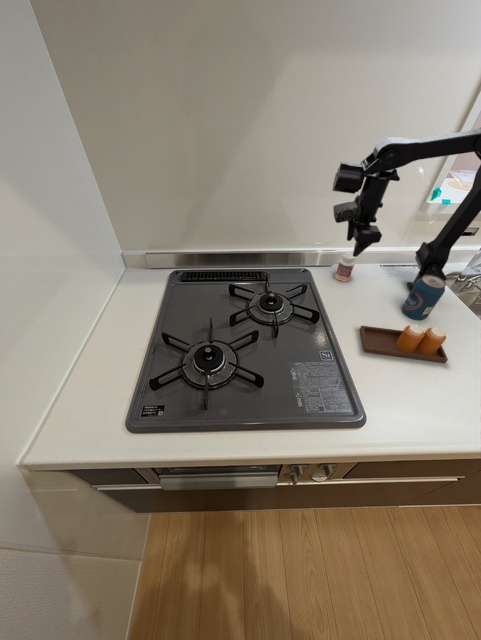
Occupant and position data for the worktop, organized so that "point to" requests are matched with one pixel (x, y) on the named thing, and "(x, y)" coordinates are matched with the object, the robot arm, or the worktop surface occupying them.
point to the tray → (393, 345)
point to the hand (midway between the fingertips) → (351, 248)
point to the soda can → (423, 297)
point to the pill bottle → (345, 266)
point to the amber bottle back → (431, 341)
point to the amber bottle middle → (410, 338)
